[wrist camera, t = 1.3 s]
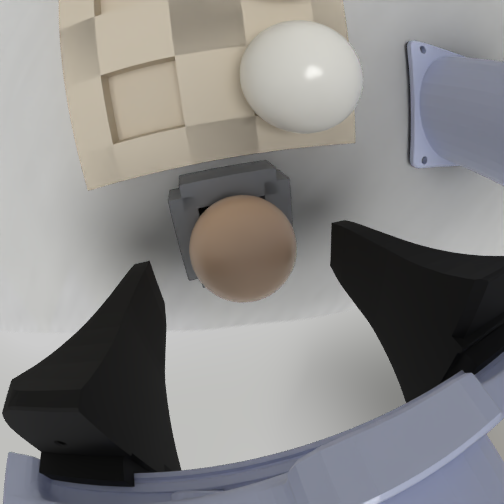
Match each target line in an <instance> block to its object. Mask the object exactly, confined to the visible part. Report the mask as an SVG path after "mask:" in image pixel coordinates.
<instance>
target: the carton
mask: <svg viewBox="0 0 504 504" xmlns="http://www.w3.org/2000/svg"><path fill="white" fill-rule="evenodd" d="M291 20H306V21H312V22H316V23H320V24H323V25H325V26H327V27H329V28H331V29H333V30H335V31H336V32H338V33H339V34H340V35H342V36H343V37H344V38H345V39H346V40H347V41H348V42H349V40H348V32H347V25H346V18H345V12H344V5H343V0H59V32H60V47H61V58H62V67H63V75H64V83H65V90H66V96H67V102H68V108H69V114H70V119H71V124H72V129H73V133H74V138H75V143H76V147H77V151H78V155H79V159H80V163H81V167H82V171H83V174H84V178H85V182H86V185H87V189H88V191H90V190H93V189H96V188H100V187H103V186H107V185H110V184H114V183H117V182H121V181H125V180H129V179H132V178H136V177H140V176H144V175H148V174H152V173H157V172H161V171H165V170H170V169H174V168H179V167H184V166H188V165H193V164H198V163H203V162H209V161H214V160H219V159H225V158H231V157H237V156H243V155H250V154H256V153H263V152H270V151H278V150H286V149H294V148H303V147H313V146H323V145H335V144H349V143H355V114H354V110H353V112H352V113H351V114H350V115H349V116H348V117H347V118H346V119H345V120H344V121H343V122H341V123H340V124H338V125H336V126H335V127H333V128H330V129H328V130H325V131H322V132H317V133H310V134H300V133H292V132H288V131H284V130H281V129H279V128H277V127H275V126H273V125H271V124H269V123H268V122H266V121H265V120H263V119H262V118H261V117H260V116H258V115H257V114H256V113H255V111H254V110H253V109H252V108H251V106H250V105H249V104H248V102H247V100H246V98H245V96H244V94H243V91H242V88H241V83H240V64H241V60H242V57H243V54H244V52H245V50H246V48H247V47H248V45H249V44H250V42H251V41H252V40H253V39H254V38H255V37H256V36H257V35H258V34H259V33H260V32H262V31H263V30H265V29H266V28H268V27H270V26H272V25H275V24H277V23H280V22H284V21H291Z"/></svg>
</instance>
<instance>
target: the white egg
mask: <svg viewBox="0 0 504 504" xmlns="http://www.w3.org/2000/svg"><path fill="white" fill-rule="evenodd" d="M240 83H241V88H242V91H243V94H244V96H245V98H246V100H247V102H248V104H249V105H250V106H251V108H252V109H253V110H254V111H255V113H256V114H257V115H258V116H260V117H261V118H262V119H263V120H265V121H266V122H268V123H269V124H271V125H273V126H275V127H277V128H279V129H281V130H284V131H288V132H292V133H300V134H310V133H317V132H322V131H325V130H328V129H330V128H333V127H335V126H336V125H338V124H340V123H341V122H343V121H344V120H345V119H346V118H347V117H348V116H349V115H350V114H351V113H352V112H353V110H354V109H355V108H356V106H357V104H358V102H359V100H360V97H361V94H362V90H363V70H362V66H361V62H360V60H359V57H358V55H357V53H356V52H355V50H354V48H353V47H352V46H351V44H350V43H349V42H348V41H347V40H346V39H345V38H344V37H343V36H342V35H340V34H339V33H338V32H336V31H335V30H333V29H331V28H329V27H327V26H325V25H323V24H320V23H316V22H312V21H306V20H291V21H284V22H280V23H277V24H275V25H272V26H270V27H268V28H266V29H265V30H263V31H262V32H260V33H259V34H258V35H257V36H256V37H255V38H254V39H253V40H252V41H251V42H250V44H249V45H248V47H247V48H246V50H245V52H244V54H243V57H242V60H241V64H240Z"/></svg>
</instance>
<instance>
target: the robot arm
mask: <svg viewBox="0 0 504 504" xmlns="http://www.w3.org/2000/svg"><path fill="white" fill-rule="evenodd" d="M420 48H421V50H422V51H420ZM407 51H408V61H409V74H410V94H411V145H410V163H411V165H412V166H413V167H415V168H429V167H444V166H463V167H465V168H467V169H469V170H472V171H474V172H476V173H478V174H480V175H482V176H484V177H486V178H489V179H491V180H493V181H495V182H497V183H499V184H500V185H502V186H504V62H503V61H496V60H488V59H479V58H468V57H465V56H462V55H459V54H457V53H454V52H451V51H448V50H445V49H442V48H439V47H436V46H433V45H430V44H426V43H423V42H419V41H409V42H408V44H407ZM422 158H423V161H422ZM330 266H331V268H332V270H333V271H334V273H335V275H336V277H337V279H338V281H339V282H340V284H341V285H342V287H343V288H344V290H345V291H346V292H347V294H348V295H349V296H350V298H351V299H352V300H353V302H354V303H355V304H356V306H357V307H358V308H359V310H360V311H361V312H362V313H363V315H364V316H365V318H366V319H367V320H368V322H369V323H370V325H371V326H372V328H373V329H374V331H375V333H376V335H377V337H378V339H379V340H380V342H381V344H382V346H383V348H384V350H385V352H386V354H387V356H388V358H389V360H390V362H391V364H392V367H393V369H394V372H395V374H396V376H397V379H398V381H399V384H400V386H401V389H402V391H403V395H404V398H405V401H406V404H404V405H402V406H400V407H398V408H396V409H394V410H392V411H390V412H388V413H386V414H384V415H381V416H379V417H377V418H375V419H373V420H371V421H368V422H366V423H364V424H361V425H359V426H356V427H354V428H352V429H349V430H347V431H344V432H341V433H339V434H336V435H334V436H331V437H328V438H325V439H323V440H319V441H316V442H313V443H310V444H307V445H305V446H301V447H298V448H294V449H291V450H287V451H284V452H280V453H276V454H273V455H268V456H264V457H260V458H256V459H252V460H247V461H242V462H237V463H232V464H226V465H220V466H214V467H207V468H199V469H192V470H182V471H181V467H180V463H179V459H178V456H177V452H176V447H175V442H174V438H173V433H172V428H171V422H170V417H169V410H168V403H167V394H166V386H165V347H166V314H165V303H164V300H163V297H162V295H161V292H160V289H159V286H158V284H157V281H156V278H155V275H154V272H153V269H152V266H151V264H150V261H147V262H143V263H138V264H134V266H133V267H132V268H131V269H130V270H129V271H128V273H127V274H126V275H125V277H124V278H123V279H122V281H121V282H120V283H119V284H118V286H117V287H116V288H115V290H114V291H113V292H112V294H111V295H110V296H109V297H108V298H107V300H106V301H105V302H104V303H103V304H102V306H101V307H100V308H99V309H98V311H97V312H96V313H95V314H94V315H93V316H92V317H91V318H90V320H89V321H88V322H87V323H86V324H85V325H84V326H83V327H82V328H81V329H80V330H79V331H78V332H77V333H75V334H74V335H73V336H72V337H71V338H70V339H69V340H68V341H66V342H65V343H64V344H63V345H62V346H61V347H60V348H58V349H57V350H56V351H54V352H53V353H52V354H51V355H49V356H48V357H47V358H45V359H44V360H42V361H41V362H40V363H38V364H37V365H35V366H34V367H32V368H30V369H29V370H27V371H26V372H24V373H22V374H21V375H19V376H17V377H16V378H14V379H12V381H11V384H10V387H9V390H8V394H7V397H6V401H5V404H4V408H3V412H2V414H3V417H4V419H5V421H6V422H7V424H8V425H9V426H10V427H11V428H12V429H13V430H14V431H15V432H16V433H17V434H19V435H20V436H21V437H22V438H24V439H25V440H26V441H28V442H29V443H30V444H31V445H33V446H34V447H36V448H37V449H38V450H40V451H41V459H38V458H35V457H32V456H29V455H23V454H18V453H13V452H9V453H8V458H7V466H6V473H5V483H4V496H3V504H504V462H503V460H502V458H501V457H500V455H499V453H498V452H497V450H496V449H495V447H494V445H493V444H492V442H491V441H490V439H489V438H488V436H487V433H488V432H489V431H490V430H492V429H493V428H494V427H495V426H496V425H497V424H498V423H499V422H500V421H501V420H502V419H503V418H504V256H478V255H467V254H460V253H453V252H448V251H442V250H437V249H433V248H429V247H425V246H421V245H418V244H414V243H411V242H408V241H405V240H402V239H399V238H396V237H393V236H390V235H387V234H385V233H382V232H379V231H377V230H374V229H371V228H368V227H366V226H363V225H360V224H357V223H354V222H350V221H346V220H344V221H339V222H334V223H332V231H331V262H330Z"/></svg>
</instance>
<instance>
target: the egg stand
mask: <svg viewBox="0 0 504 504" xmlns="http://www.w3.org/2000/svg"><path fill="white" fill-rule="evenodd" d="M235 195H251V196H256V197H260V198H262V199H265V200H267V201H269V202H271V203H272V204H274V205H275V206H276V207H278V208H279V209H280V210H281V211H282V212H283V213H284V214H285V215H286V217H287V219H288V220H289V222H290V223H291V225H292V207H291V191H290V178H288V177H287V176H286V175H285V174H283V173H282V172H281V171H280V170H276V167H274V166H273V165H272V164H270V163H269V162H268V161H267V160H264V161H257V162H251V163H244V164H238V165H232V166H227V167H221V168H216V169H210V170H205V171H200V172H195V173H190V174H185V175H181V176H179V188H178V189H173V190H170V191H169V198H168V203H169V207H170V212H171V216H172V220H173V224H174V228H175V232H176V236H177V239H178V243H179V247H180V251H181V254H182V258H183V262H184V265H185V269H186V273H187V276H188V280H189V281H190V280H194V279H198V277H197V276H196V274H195V272H194V270H193V267H192V264H191V260H190V254H189V244H190V237H191V233H192V230H193V228H194V226H195V223H196V222H197V220H198V218H199V217H200V212H199V208H202V207H207V206H211V205H212V204H214V203H215V202H217V201H219V200H221V199H224V198H226V197H230V196H235ZM292 228H293V226H292ZM202 285H203V284H202ZM204 287H205V286H204V285H203V288H204Z"/></svg>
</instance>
